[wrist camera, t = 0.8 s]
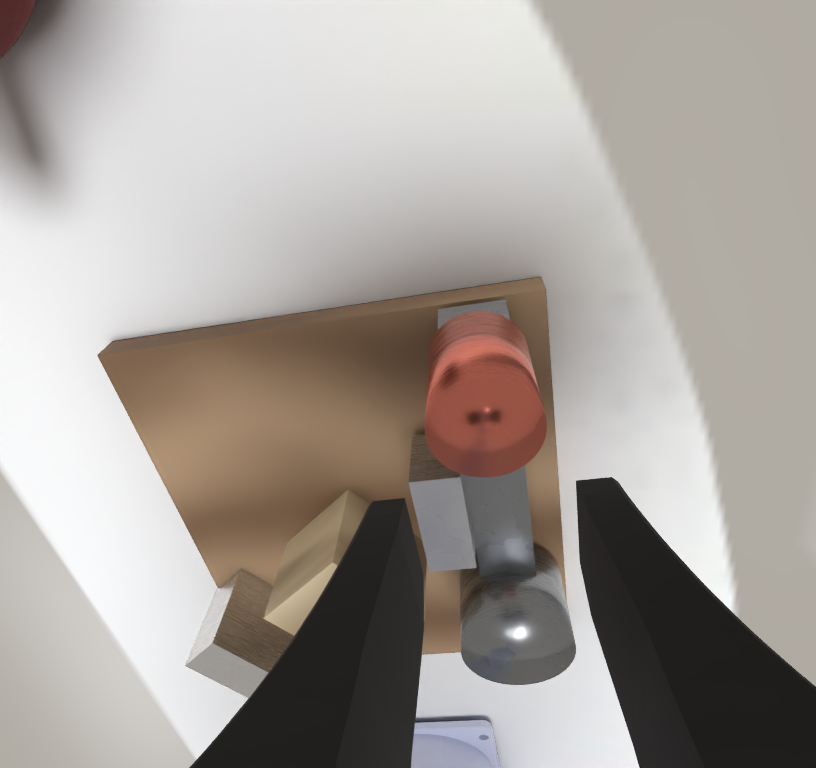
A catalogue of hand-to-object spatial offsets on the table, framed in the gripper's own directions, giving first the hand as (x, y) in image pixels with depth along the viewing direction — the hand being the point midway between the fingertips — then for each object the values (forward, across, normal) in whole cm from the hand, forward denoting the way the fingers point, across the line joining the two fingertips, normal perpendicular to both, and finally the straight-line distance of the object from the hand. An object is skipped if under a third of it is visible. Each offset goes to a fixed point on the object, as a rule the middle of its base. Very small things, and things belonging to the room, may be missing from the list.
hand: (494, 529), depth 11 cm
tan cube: (+8, +6, +9) cm, 13 cm away
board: (+9, +5, +8) cm, 13 cm away
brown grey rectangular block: (+9, +10, +12) cm, 18 cm away
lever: (+8, 0, +6) cm, 10 cm away
